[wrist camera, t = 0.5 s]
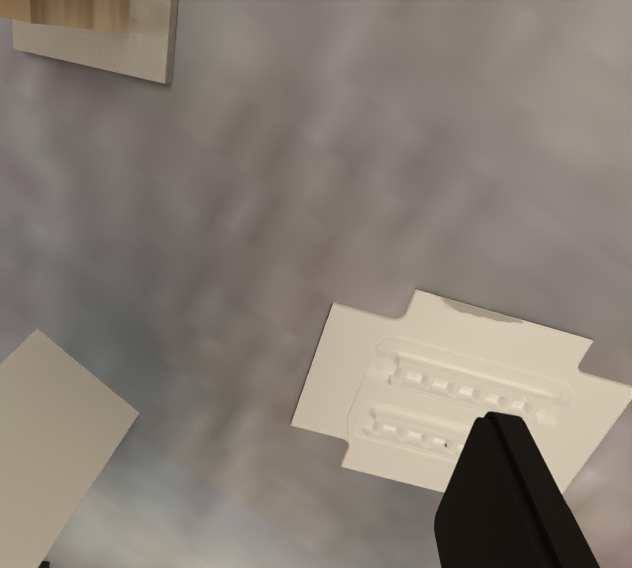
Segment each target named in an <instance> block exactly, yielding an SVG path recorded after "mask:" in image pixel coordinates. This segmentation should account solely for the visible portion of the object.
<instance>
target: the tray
mask: <svg viewBox="0 0 632 568" xmlns="http://www.w3.org/2000/svg"><path fill="white" fill-rule="evenodd" d="M593 341H594V339H592V340H590V339H587V338H583V337H580V336H576V335H573V334H570V333H566V332H563V331H559V330H556V329H552V328H549V327H545V326H542V325H539V324H535V323H532V322H528V321H524V320H521V319H518V318H514V317H510V316H507V315H503V314H500V313H497V312H493V311H489V310H486V309H482V308H479V307H475V306H472V305H468V304H465V303H462V302H458V301H455V300H451V299H448V298H444V297H440V296H437V295H433V294H430V293H426V292H423V291H419V290H417V289H416V288H415V290H414V292H413V295H412V297H411V299H410V302H409V304H408V306H407V309H406V311H405V313H404V314H403V315H402V316H401V317H399V318H395V319H392V318H388V317H385V316H381V315H377V314H374V313H370V312H367V311H363V310H360V309H356V308H353V307H349V306H345V305H342V304H338V303H335V302H333V305H332V308H331V311H330V314H329V317H328V319H327V322H326V324H325V327H324V330H323V334H322V336H321V339H320V342H319V345H318V347H317V350H316V353H315V356H314V359H313V362H312V365H311V367H310V371H309V374H308V376H307V379H306V382H305V385H304V388H303V391H302V394H301V396H300V399H299V402H298V405H297V408H296V411H295V414H294V417H293V420H292V423H291V426H295V427H299V428H303V429H307V430H311V431H314V432H318V433H322V434H326V435H330V436H334V437H338V438H342V439H344V440H346V441H347V442H348V447H347V449H346V452H345V454H344V456H343V459H342V461H341V463H340V464H341V466H342V467H345V468H349V469H353V470H357V471H360V472H364V473H368V474H372V475H376V476H380V477H384V478H388V479H392V480H396V481H400V482H404V483H408V484H412V485H416V486H420V487H424V488H428V489H432V490H436V491H440V492H444V493H445V490H446V488H447V486H448V483H449V481H450V478H451V476H452V474H453V471H454V469H455V466H456V464H457V461H458V459H459V457H460V454H461V452H462V449H463V447H464V445H465V442H466V440H467V437H468V435H469V433H470V430H471V428H472V425H473V423H474V421H475V419H476V418H477V417H483V418H484V416H485V414H486V413H487V412H489V411H494V412H499V413H505V414H511V415H516V416H520V417H522V418H523V420H524V421H525V423H526V425H527V427H528V429H529V431H530V433H531V435H532V437H533V439H534V441H535V443H536V445H537V447H538V449H539V451H540V453H541V455H542V457H543V459H544V460H545V462H546V464H547V466H548V468H549V470H550V472H551V474H552V476H553V478H554V480H555V482H556V484H557V486H558V488H559V490H560V492H561V494H563V492H564V491H565V490H566V488H567V487H568V486H569V484H570V483H571V481H572V480H573V479H574V477H575V476H576V475H577V473H578V472H579V470H580V469H581V468H582V466H583V465H584V464H585V462H586V461H587V460H588V458H589V457H590V455H591V454H592V453H593V451H594V450H595V449H596V447H597V446H598V444H599V443H600V442H601V440H602V439H603V438H604V436H605V435H606V434H607V432H608V431H609V429H610V428H611V427H612V425H613V424H614V423H615V421H616V420H617V419H618V417H619V416H620V414H621V413H622V412H623V410H624V409H625V408H626V406H627V405H628V404H629V402H630V401H631V399H632V386H630V385H626V384H623V383H619V382H616V381H612V380H609V379H605V378H601V377H598V376H594V375H591V374H587V373H584V372H581V371H580V370H579V369H578V365H579V363H580V361H581V360H582V358H583V356H584V355H585V353H586V352H587V350H588V349H589V347H590V345H591V344H592V342H593ZM445 443H446V445H447V447H445Z"/></svg>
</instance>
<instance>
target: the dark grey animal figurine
mask: <svg viewBox="0 0 632 568" xmlns="http://www.w3.org/2000/svg"><path fill="white" fill-rule="evenodd" d="M49 563H50V562H45V561H42V562H41V564H40V565H39V567H38V568H49Z"/></svg>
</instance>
